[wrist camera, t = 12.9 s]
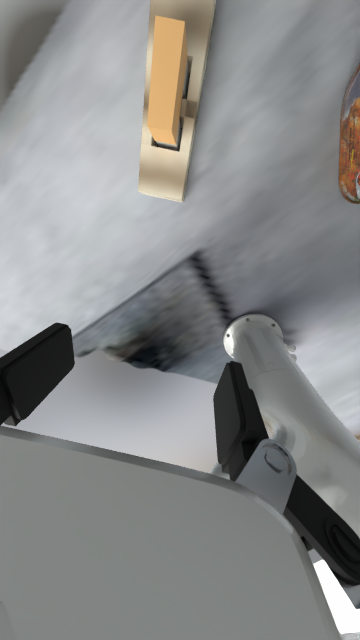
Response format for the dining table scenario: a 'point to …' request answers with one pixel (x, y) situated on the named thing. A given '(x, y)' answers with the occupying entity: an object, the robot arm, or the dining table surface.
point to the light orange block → (168, 82)
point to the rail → (167, 165)
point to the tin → (350, 142)
